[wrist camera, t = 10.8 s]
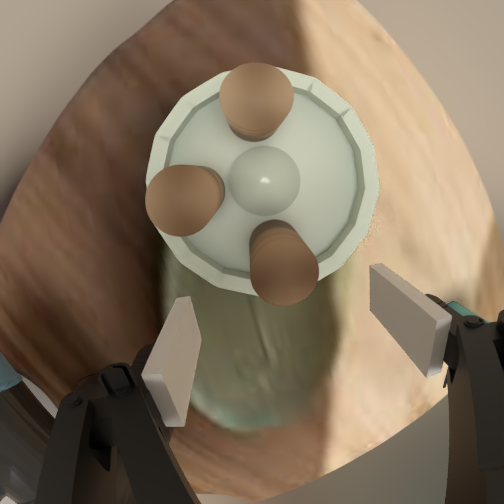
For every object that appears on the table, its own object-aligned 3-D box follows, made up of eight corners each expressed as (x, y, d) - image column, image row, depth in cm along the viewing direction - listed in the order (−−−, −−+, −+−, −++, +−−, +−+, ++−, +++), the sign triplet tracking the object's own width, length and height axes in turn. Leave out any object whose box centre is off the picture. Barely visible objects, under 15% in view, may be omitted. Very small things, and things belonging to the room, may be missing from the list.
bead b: (231, 145, 25) (225, 135, 17) (223, 97, 23) (214, 68, 16) (284, 138, 25) (299, 125, 17) (275, 89, 23) (286, 59, 16)
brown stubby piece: (245, 223, 27) (244, 245, 19) (296, 216, 26) (316, 235, 19) (253, 271, 28) (255, 310, 20) (301, 264, 28) (321, 300, 20)
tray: (180, 297, 29) (175, 308, 27) (142, 99, 24) (133, 94, 22) (373, 266, 29) (383, 274, 26) (349, 70, 23) (357, 62, 21)
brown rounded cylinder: (179, 221, 26) (153, 242, 19) (170, 171, 25) (139, 173, 17) (229, 212, 26) (221, 230, 19) (220, 161, 25) (208, 157, 17)
